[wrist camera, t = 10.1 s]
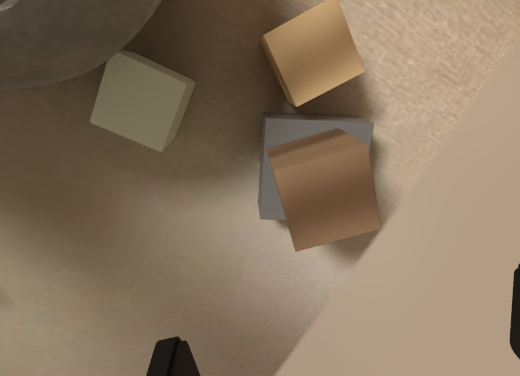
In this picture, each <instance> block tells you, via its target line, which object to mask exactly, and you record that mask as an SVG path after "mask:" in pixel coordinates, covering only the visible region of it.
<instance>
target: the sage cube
mask: <svg viewBox="0 0 520 376" xmlns="http://www.w3.org/2000/svg"><path fill="white" fill-rule="evenodd" d="M195 85H196V81H194V80H192V79H190V78H188V77H185V76H183V75H181V74H179V73H177V72H175V71H173V70H170V69H168V68H166V67H164V66H162V65H160V64H158V63H155V62H153V61H151V60H149V59H147V58H145V57H143V56H140V55H138V54H136V53H132V52H126V51H118V52H117V53H116V54H115V55H114V56H113V57H111V58H110V59H109V60H108V61H107V64H106V68H105V71H104V74H103V78H102V81H101V84H100V88H99V91H98V95H97V98H96V101H95V105H94V108H93V111H92V115H91V118H90V121H89V123H92V124H94V125H96V126H99V127H101V128H104V129H106V130H108V131H111V132H113V133H116V134H118V135H120V136H123V137H125V138H128V139H130V140H132V141H135V142H137V143H140V144H142V145H144V146H147V147H149V148H152V149H154V150H156V151H159V152H162V151H163V150H164V149H165V148H166V147H167V146H168V145H169V144H170V143H171V142H172V141H173V140H174V139H175V137H176V134H177V132H178V129H179V126H180V124H181V121H182V119H183V116H184V113H185V111H186V108H187V106H188V103H189V100H190V98H191V95H192V93H193V90H194V87H195Z"/></svg>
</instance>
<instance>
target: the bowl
mask: <svg viewBox="0 0 520 376" xmlns="http://www.w3.org/2000/svg"><path fill="white" fill-rule="evenodd" d="M161 2H162V0H0V91H5V90H20V89H27V88H33V87H39V86H45V85H49V84H53V83H57V82H61V81H65V80H68V79H71V78H74V77H77V76H80V75H83V74H85V73H87V72H89V71H91V70H93V69H95V68H97V67H98V66H100V65H101V64H103V63H104V62H106V61H107V60H109V59H110V58H111V57H113V56H114V55H115V54H116V53H117V52H118V51H120V50H121V49H122V48H123V47H124V46H125V45H126V44H127V43H128V42H129V41H131V40H132V39H133V38H134V37H135V35H136V34H137V33H138V32H139V31H140V30H141V29H142V28H143V27H144V25H145V24H146V23H147V22H148V20H149V19H150V18H151V16H152V15H153V14H154V12H155V11H156V9H157V8H158V6H159V5H160V3H161Z"/></svg>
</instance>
